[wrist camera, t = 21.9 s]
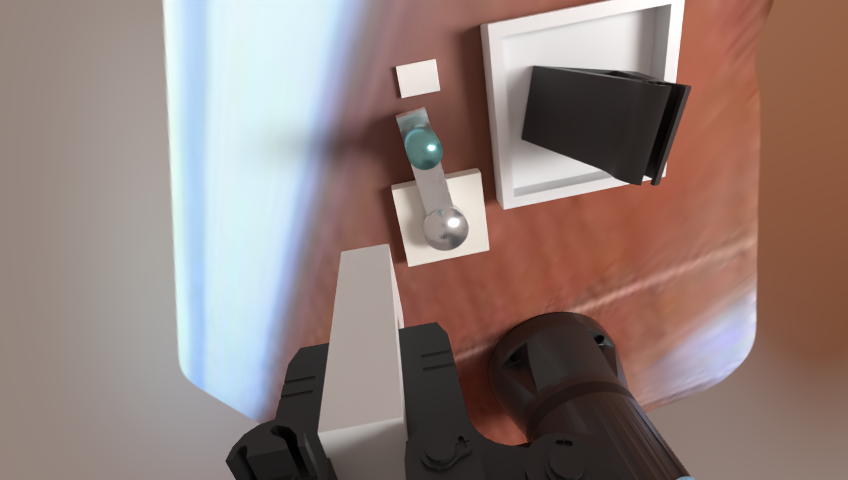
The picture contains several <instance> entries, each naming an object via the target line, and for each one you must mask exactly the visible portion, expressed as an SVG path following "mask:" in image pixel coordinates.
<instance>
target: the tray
mask: <svg viewBox="0 0 848 480" xmlns="http://www.w3.org/2000/svg"><path fill="white" fill-rule="evenodd" d="M684 2H685V0H603V1H598V2H593V3H588V4H583V5H578V6H573V7H568V8H562V9H557V10H552V11H547V12H542V13H537V14H532V15H527V16H521V17H516V18H511V19H506V20H501V21H496V22H491V23H486V24H480V30H481V41H482V51H483V62H484V72H485V83H486V94H487V104H488V115H489V125H490V136H491V146H492V157H493V168H494V178H495V189H496V199H497V201H498V202H499V204H500V205H501V206H502V208H503V209H504V210H505V209H510V208H515V207H519V206H524V205H529V204H534V203H539V202H544V201H549V200H554V199H558V198H563V197H568V196H573V195H578V194H583V193H588V192H593V191H598V190H602V189H607V188H612V187H617V186H622V185H627V184H630V183H626V182H623V181H620V180H617V179H615V178H614V177H612V176H611V175H610V174H608V173H607V172H605V171H603V170H601V169H598V168H596V167H593V166H590V165H588V164H585V163H582V162H580V161H577V160H574V159H572V158H569V157H566V156H564V155H561V154H558V153H556V152H553V151H551V150H548V149H545V148H543V147H540V146H537V145H535V144H532V143H529V142H527V141H524V140H522V139H521V137H522V131H523V125H524V119H525V112H526V106H527V100H528V94H529V88H530V82H531V76H532V70H533V65H536V66H553V67H570V68H585V69H586V68H587V69H604V70H621V71H635V72H639V73H642V74H645V75H648V76H652V77H655V78H658V79H661V80H664V81H667V82H671V83H676V74H677V65H678V56H679V47H680V38H681V29H682V20H683V11H684ZM666 165H667V162H666ZM666 165H665V168H664V171H663V174H662V177H665V174H666ZM646 180H651V178H649V177H647V176H644V177H643V180H642V181H646Z"/></svg>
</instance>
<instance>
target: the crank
mask: <svg viewBox="0 0 848 480" xmlns="http://www.w3.org/2000/svg"><path fill="white" fill-rule="evenodd" d="M396 120H397V123H398V126H399V129H400V132H401V135H402V139H403V142H404V146H405V149H406V153H407V157H408V160H409V162H410V163H411V166H412V170H413V173H414V176H415V179H416V182H417V185H418V188H419V191H420V194H421V198H422V201H423V204H424V207H425V210H426V213H425V215H424V217H423V220H422V228H423V232H424V236H425V239H426V241H427V243H428V244H429V245H430V246H431V247H433V248H434V249H437V250H441V251H448V250H453V249H455V248H457V247H459V246H460V245H461V244H462V243H463V242H464V241H465V240H466V238H467V235H468V232H469V226H468V222H467V220H466V218H465V216H464V214H463V212H462V211H461V210H460V209H459V208H458V207H457V206H455V205H453V204H452V200H451V197H450V193H449V189H448V186H447V182H446V179H445V175H444V172H443V168H442V165H441V159H442V156H443V147H442V145H441V143H440V141H439V139H438V138H437V136H436V134H435V133H434V131H433V129H432V128H431V126H430V123H429V119H428V116H427V112H426V109H425V107H424V106H423V107H420V108H417V109H414V110H411V111H408V112H405V113H402V114H399V115H396Z"/></svg>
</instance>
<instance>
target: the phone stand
mask: <svg viewBox="0 0 848 480" xmlns="http://www.w3.org/2000/svg"><path fill="white" fill-rule="evenodd" d="M690 90H691V86H688V85H683V84H677V83H671V82H667V81H664V80H661V79H658V78H655V77H652V76H648V75H645V74H642V73H639V72H635V71H621V70H604V69H587V68H586V69H585V68H570V67H553V66H536V65H533V70H532V76H531V82H530V88H529V94H528V100H527V106H526V112H525V119H524V125H523V131H522V137H521V139H522V140H524V141H527V142H529V143H532V144H535V145H537V146H540V147H543V148H545V149H548V150H551V151H553V152H556V153H558V154H561V155H564V156H566V157H569V158H572V159H574V160H577V161H580V162H582V163H585V164H588V165H590V166H593V167H596V168H598V169H601V170H603V171H605V172H607V173H608V174H610V175H611V176H612V177H614V178H615V179H617V180H620V181H623V182H626V183H630V184H635V185H641V183H642V180H643V177H644V176H647V177H649V178H651V179H652V181H651V185H654V186H655V185H658V184H659V183H660V180H661V177H662V174H663V171H664V168H665V165H666V162H667V159H668V156H669V153H670V150H671V147H672V144H673V141H674V138H675V135H676V132H677V129H678V126H679V123H680V120H681V117H682V114H683V111H684V108H685V105H686V102H687V99H688V96H689V93H690Z"/></svg>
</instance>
